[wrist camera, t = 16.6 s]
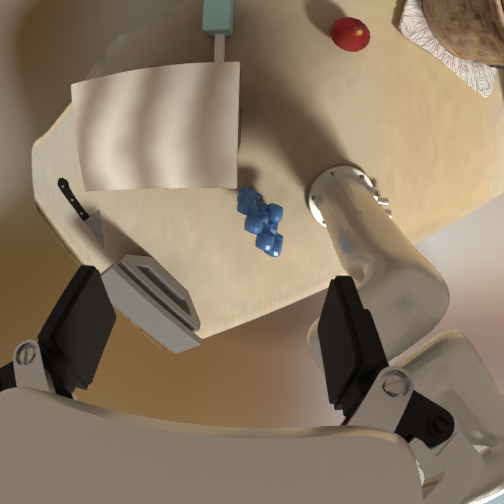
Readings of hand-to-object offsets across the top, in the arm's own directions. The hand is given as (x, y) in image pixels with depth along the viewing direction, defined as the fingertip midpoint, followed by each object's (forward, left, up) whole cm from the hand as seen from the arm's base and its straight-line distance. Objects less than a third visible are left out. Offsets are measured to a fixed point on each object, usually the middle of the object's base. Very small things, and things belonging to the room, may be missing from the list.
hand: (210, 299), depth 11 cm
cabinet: (+9, -3, -38) cm, 39 cm away
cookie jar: (-38, -29, -39) cm, 62 cm away
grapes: (-4, +14, -38) cm, 41 cm away
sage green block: (+4, -13, -38) cm, 41 cm away
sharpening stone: (+19, +34, -39) cm, 55 cm away
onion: (-15, -17, -38) cm, 45 cm away
